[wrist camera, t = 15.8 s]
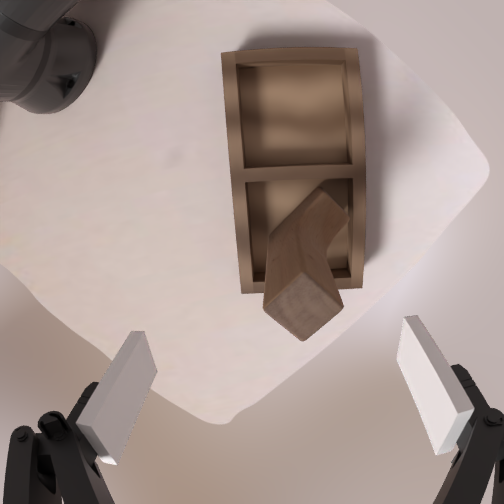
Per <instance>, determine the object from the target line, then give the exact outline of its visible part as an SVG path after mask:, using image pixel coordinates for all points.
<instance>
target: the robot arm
mask: <svg viewBox="0 0 504 504" xmlns="http://www.w3.org/2000/svg"><path fill="white" fill-rule="evenodd" d="M78 1H79V0H0V102H3V101H11V102H13V103H15V104H16V105H18V106H20V107H22V108H24V109H26V110H27V111H29V112H32V113H36V114H51V113H56V112H58V111H61V110H63V109H65V108H66V107H68V106H69V105H70V104H71V103H73V102H74V101H75V100H76V99H77V98H78V96H79V95H80V94H81V93H82V91H83V90H84V88H85V87H86V85H87V83H88V81H89V79H90V77H91V75H92V72H93V69H94V66H95V61H96V53H97V48H96V41H95V37H94V35H93V33H92V31H91V29H90V28H89V27H88V26H87V25H86V24H84V23H82V22H80V21H78V20H76V19H73V18H68V17H63V16H64V15H65V14H66V13H67V12H68V11H69V10H70V9H71V8H72V7H73V6H74V5H75V4H76V3H77V2H78ZM397 362H398V364H399V366H400V368H401V371H402V373H403V375H404V378H405V380H406V382H407V385H408V387H409V389H410V391H411V394H412V396H413V398H414V401H415V403H416V406H417V408H418V411H419V413H420V416H421V418H422V421H423V423H424V426H425V428H426V431H427V433H428V436H429V438H430V441H431V444H432V446H433V449H434V452H435V454H436V455H439V454H443V453H446V452H449V451H452V449H453V448H454V446H455V444H456V443H457V445H458V448H459V451H458V452H457V454H456V456H455V457H454V459H453V460H452V462H451V463H453V464H452V466H451V468H450V471H449V472H448V475H447V477H446V479H445V481H444V483H443V485H442V487H441V489H440V491H439V493H438V495H437V497H436V499H435V501H434V502H433V504H480V503H481V500H482V498H483V495H484V493H485V490H486V487H487V484H488V481H489V479H490V476H491V473H492V470H493V467H494V464H495V475H494V487H493V496H492V504H504V414H503V413H502V412H501V411H499V410H497V409H495V408H490V407H489V405H488V404H487V402H486V400H485V399H484V397H483V395H482V394H481V392H480V390H479V389H478V387H477V386H476V384H475V382H474V381H473V380H472V377H471V376H470V374H469V373H468V371H467V370H466V369H465V368H463V367H462V366H461V365H459V364H457V365H452V366H450V365H449V364H448V362H447V360H446V359H445V357H444V356H443V354H442V352H441V351H440V349H439V347H438V346H437V345H436V343H435V341H434V340H433V338H432V337H431V335H430V334H429V332H428V330H427V329H426V327H425V326H424V324H423V323H422V321H421V320H420V319H419V317H418V316H417V315H415V316H407V317H404V320H403V326H402V333H401V338H400V344H399V349H398V354H397ZM156 373H157V369H156V366H155V363H154V360H153V357H152V354H151V351H150V348H149V345H148V341H147V338H146V335H145V332H144V331H131V333H130V334H129V336H128V337H127V339H126V340H125V342H124V344H123V345H122V347H121V348H120V350H119V352H118V353H117V355H116V356H115V358H114V360H113V361H112V363H111V364H110V366H109V368H108V369H107V371H106V373H105V374H104V376H103V377H102V379H101V381H100V382H92V383H91V384H90V385H89V386H88V387H87V388H85V390H84V392H83V393H82V395H81V397H80V398H79V400H78V401H77V403H76V405H75V406H74V408H73V409H72V411H71V413H70V414H69V416H68V418H67V419H65V418H64V416H63V415H62V414H61V413H60V412H57V411H51V412H48V413H46V414H44V415H43V416H42V417H41V418H40V419H39V421H38V428H39V429H40V430H41V432H42V433H34V431H33V430H32V429H31V427H29V426H20V427H18V428H16V429H15V430H14V431H13V433H12V435H11V438H10V444H9V451H8V458H7V466H6V473H5V483H4V496H3V504H62V498H63V501H64V504H115V503H114V501H113V499H112V497H111V494H110V492H109V490H108V488H107V486H106V484H105V481H104V479H103V477H102V474H101V472H100V470H99V467H98V465H97V463H96V462H95V459H96V457H97V455H98V456H99V457H100V459H101V460H102V462H105V463H109V464H114V465H118V463H119V460H120V458H121V456H122V453H123V451H124V448H125V446H126V443H127V441H128V439H129V436H130V434H131V431H132V429H133V427H134V424H135V422H136V420H137V417H138V415H139V412H140V410H141V408H142V405H143V403H144V401H145V398H146V396H147V394H148V392H149V389H150V387H151V385H152V382H153V380H154V378H155V375H156Z"/></svg>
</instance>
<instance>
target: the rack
mask: <svg viewBox="0 0 504 504" xmlns="http://www.w3.org/2000/svg"><path fill="white" fill-rule="evenodd" d="M221 60H222V74H223V87H224V100H225V113H226V126H227V138H228V150H229V162H230V174H231V185H232V197H233V208H234V219H235V230H236V241H237V252H238V262H239V273H240V283H241V294H248V293H264V287H265V275H266V262H267V249H268V237H269V235H270V234H271V233H272V232H273V231H274V230H275V229H276V228H277V227H278V226H279V225H280V224H281V223H282V222H283V221H284V220H285V219H286V218H287V217H288V216H289V215H290V214H291V213H292V212H293V211H294V210H295V209H296V208H297V207H298V206H299V205H300V204H301V203H302V202H303V201H304V200H305V198H306V197H307V196H308V195H309V194H310V193H311V192H312V191H313V190H314V189H315V188H316V187H318V186H320V187H322V188H323V189H324V190H325V191H326V192H327V193H328V194H329V195H330V196H331V197H332V198H333V199H334V200H335V201H336V202H337V203H338V204H339V205H340V206H341V207H342V208H343V210H344V211H345V212H346V213H347V214H348V215H349V217H350V220H349V222H348V223H347V224H346V225H345V226H344V227H343V228H342V229H341V230H340V232H339V233H338V234H337V235H336V236H335V237H334V239H333V240H332V242H331V244H330V246H329V248H328V249H327V262H328V264H329V267H330V270H331V272H332V275H333V278H334V280H335V283H336V286H337V288H338V289H354V288H362V285H363V270H364V252H365V225H366V157H365V131H364V113H363V99H362V87H361V76H360V66H359V57H358V49H357V48H335V47H290V48H268V49H254V50H242V51H232V52H224V53H221Z"/></svg>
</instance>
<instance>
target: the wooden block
mask: <svg viewBox="0 0 504 504" xmlns="http://www.w3.org/2000/svg"><path fill="white" fill-rule="evenodd" d="M349 220H350V217H349V215H348V214H347V213H346V212H345V211H344V210H343V208H342V207H341V206H340V205H339V204H338V203H337V202H336V201H335V200H334V199H333V198H332V197H331V196H330V195H329V194H328V193H327V192H326V191H325V190H324V189H323V188H322V187H320V186H318V187H316V188H315V189H314V190H313V191H312V192H311V193H310V194H309V195H308V196H307V197H306V198H305V200H304V201H303V202H302V203H301V204H300V205H299V206H298V207H297V208H296V209H295V210H294V211H293V212H292V213H291V214H290V215H289V216H288V217H287V218H286V219H285V220H284V221H283V222H282V223H281V224H280V225H279V226H278V227H277V228H276V229H275V230H274V231H273V232H272V233H271V234H270V235H269V237H268V249H267V262H266V275H265V287H264V299H263V309H264V311H265V312H266V313H267V314H268V315H269V316H271V317H272V318H273V319H274V320H275V321H277V322H278V323H279V324H280V325H282V326H283V327H284V328H285V329H287V330H288V331H289V332H290V333H292V334H293V335H294V336H295V337H297V338H298V339H299V340H300V341H305V340H307V339H308V338H309V337H310V336H312V335H313V334H314V333H315V332H316V331H318V330H319V329H320V328H321V327H322V326H324V325H325V324H326V323H327V322H328V321H330V320H331V319H332V318H333V317H334V316H336V315H337V314H338V313H339V312H340V311H341V310H342V309H343V307H344V305H343V302H342V299H341V297H340V294H339V291H338V288H337V286H336V283H335V280H334V278H333V275H332V272H331V270H330V267H329V264H328V262H327V249H328V248H329V246H330V244H331V242H332V240H333V239H334V237H335V236H336V235H337V234H338V233H339V232H340V230H341V229H342V228H343V227H344V226H345V225H346V224H347V223H348V222H349Z"/></svg>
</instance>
